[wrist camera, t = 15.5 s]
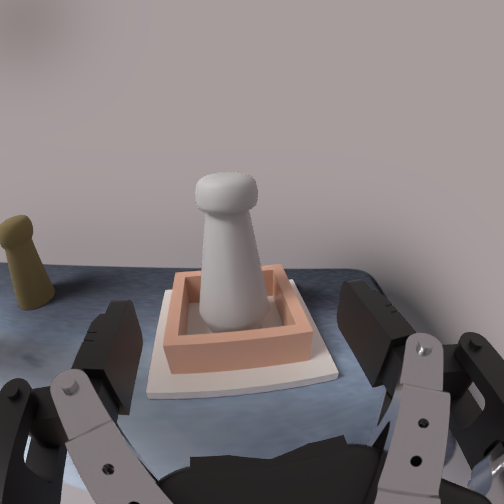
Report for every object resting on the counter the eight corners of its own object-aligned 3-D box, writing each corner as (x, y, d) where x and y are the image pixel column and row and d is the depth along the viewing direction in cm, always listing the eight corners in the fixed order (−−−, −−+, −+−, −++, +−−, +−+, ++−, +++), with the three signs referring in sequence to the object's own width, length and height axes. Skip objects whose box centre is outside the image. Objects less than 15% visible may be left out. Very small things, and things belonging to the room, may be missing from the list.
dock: (148, 399, 18) (133, 364, 16) (166, 296, 30) (160, 265, 29) (337, 379, 19) (346, 343, 18) (292, 285, 32) (293, 254, 30)
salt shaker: (271, 309, 27) (272, 168, 21) (265, 352, 22) (265, 182, 16) (211, 305, 27) (198, 169, 22) (194, 345, 22) (169, 184, 17)
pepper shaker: (44, 282, 33) (24, 208, 28) (62, 293, 30) (38, 211, 26) (13, 301, 28) (-12, 225, 23) (27, 315, 26) (-4, 230, 21)
